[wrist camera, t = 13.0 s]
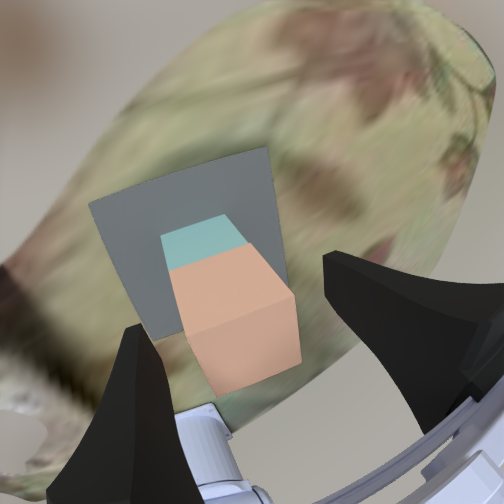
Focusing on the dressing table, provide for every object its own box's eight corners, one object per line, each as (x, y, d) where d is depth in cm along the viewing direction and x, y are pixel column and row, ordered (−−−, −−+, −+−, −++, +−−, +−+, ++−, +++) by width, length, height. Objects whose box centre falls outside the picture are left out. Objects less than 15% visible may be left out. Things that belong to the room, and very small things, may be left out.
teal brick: (237, 268, 23) (263, 308, 19) (180, 289, 22) (194, 334, 18) (224, 214, 20) (250, 245, 16) (160, 235, 19) (169, 274, 15)
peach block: (263, 305, 18) (301, 362, 14) (193, 332, 18) (216, 397, 13) (250, 242, 16) (294, 295, 12) (168, 271, 15) (186, 336, 11)
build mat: (288, 288, 26) (289, 289, 26) (152, 339, 23) (152, 340, 23) (265, 146, 19) (267, 147, 19) (88, 203, 17) (87, 204, 17)
